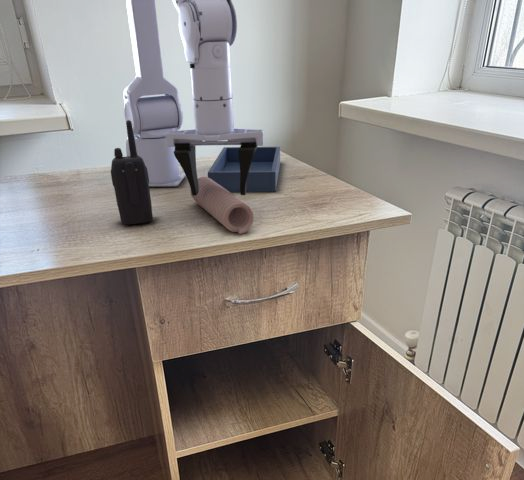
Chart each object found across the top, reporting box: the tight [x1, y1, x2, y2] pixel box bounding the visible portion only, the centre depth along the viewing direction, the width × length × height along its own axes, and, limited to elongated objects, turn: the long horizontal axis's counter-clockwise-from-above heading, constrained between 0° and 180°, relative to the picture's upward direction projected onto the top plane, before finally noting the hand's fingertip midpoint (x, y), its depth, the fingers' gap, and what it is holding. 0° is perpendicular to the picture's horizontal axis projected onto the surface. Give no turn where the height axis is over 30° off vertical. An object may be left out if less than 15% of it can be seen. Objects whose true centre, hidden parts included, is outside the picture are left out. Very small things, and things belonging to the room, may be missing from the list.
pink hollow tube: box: [190, 176, 255, 235], centre depth 80 cm, size 5×5×18 cm
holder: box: [207, 146, 281, 193], centre depth 102 cm, size 13×23×4 cm, turn 176°
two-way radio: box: [110, 120, 154, 226], centre depth 76 cm, size 6×4×15 cm
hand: (219, 193), depth 79 cm, fingers open, 7 cm apart
